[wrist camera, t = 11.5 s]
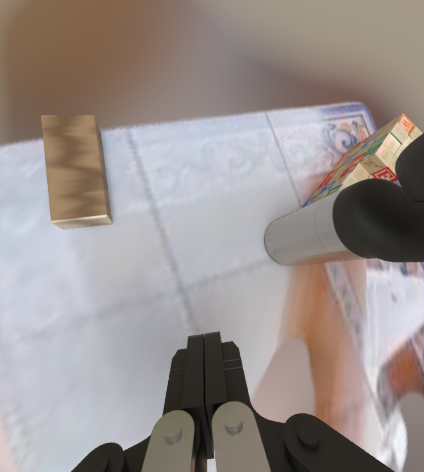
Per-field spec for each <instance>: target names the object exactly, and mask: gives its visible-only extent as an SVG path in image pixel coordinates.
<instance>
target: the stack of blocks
mask: <svg viewBox="0 0 424 472" xmlns="http://www.w3.org/2000/svg"><path fill="white" fill-rule="evenodd" d="M420 135H422V132H421V131H420V130H419V129H418V128H417V127H416V126H414V124H413V123H412V122H411V121H410V120H409V119H408V118H407V116H406V115H404V114H402V115H400V116H399V117H397V118H396V119H394V120H393V121H392V122H390V123H388V124H387V125H385V126H384V127H382V128H381V129H379V130H378V131H376V132H375V133H373V134H372V135H371V136H369V137H368V138H366V139H365V140H363V141H362V142H359V143H358V144H357V145H355V146H354V147H352V148H351V149H349V151H348V152H347V153H346V154H345V155H344V156H343V157H342V158H341V160H340V161H339V162H338V163H337V165H336V166H335V167H334V168H333V169H332V171H331V172H330V174H329V175H328V176H327V178H326V179H325V180H324V181H323V183H322V184H321V185H320V187H319V188H318V189H317V190H316V191H315V192H314V193H313V195H312V196H311V197H310V198H309V200H308V201H307V202H306V203H305V205H304V206H303V207H305V206H307V205H309V204H312V203H314V202H316V201H318V200H320V199H322V198H325V197H327V196H329V195H331V194H333V193H335V192H337V191H339V190H342V189H344V188H346V187H348V186H350V185H352V184H354V183H357V182H359V181H362V180H365V179H370V178H380V179H385V180H388V181H390V182H394V181H396V180H398V178H397V176H396V173H395V163H396V160H397V158H398V157H399V155H400V153H401V152H402V151H403V150H404V149H405V148H406V147H407V146H408V145H409V144H410V143H411V142H412V141H414V140H415V139H416V138H417V137H419V136H420ZM303 207H302V208H303Z"/></svg>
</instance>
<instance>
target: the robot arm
mask: <svg viewBox="0 0 424 472" xmlns="http://www.w3.org/2000/svg"><path fill="white" fill-rule="evenodd" d="M395 173H396V176H397V178H398V180H399V182H400V184H401V186H402V187H400V186H398V185H397V184H395V183H393V182H390V181H388V180H385V179H380V178H370V179H365V180H362V181H359V182H357V183H354V184H352V185H350V186H348V187H346V188H344V189H342V190H339V191H337V192H335V193H333V194H331V195H329V196H327V197H325V198H322V199H320V200H318V201H316V202H314V203H312V204H309V205H307V206H305V207H303V208H301V209H299V210H296V211H294V212H292V213H290V214H288V215H285V216H283V217H281V218H279V219H277V220H275V221H273V222H272V223H271V224H270V225H269V226H268V228H267V230H266V233H265V238H264V241H265V247H266V250H267V252H268V254H269V255H270V257H271V258H272V259H273V260H274V261H276V262H277V263H279V264H282V265H288V266H290V265H303V264H314V263H326V262H337V261H349V260H359V259H372V258H378V259H381V260H384V261H389V262H424V133H423V134H422V135H420V136H419V137H417V138H416V139H415V140H414V141H412V142H411V143H410V144H409V145H408V146H407V147H406V148H405V149H404V150H403V151H402V152H401V153H400V155H399V157H398V158H397V160H396V163H395ZM213 445H214V446H213ZM214 450H215V459H216V468H217V472H394V471H393V470H391V469H390V468H389V467H387V466H386V465H384V464H383V463H381V462H380V461H379V460H377V459H376V458H374V457H373V456H371V455H370V454H369V453H367V452H366V451H364V450H363V449H361V448H360V447H359V446H357V445H356V444H354V443H353V442H351V441H350V440H349V439H347V438H346V437H344V436H343V435H341V434H340V433H339V432H337V431H336V430H334V429H333V428H331V427H330V426H329V425H327V424H326V423H324V422H323V421H321V420H320V419H318V418H317V417H315V416H313V415H309V414H305V413H300V414H295V415H293V416H291V417H290V418H289V419H288V420H287V421H286V423H280V422H275V421H271V420H268V419H265V418H264V417H262V416H260V415H259V414H258V413H257V412H256V411H255V410H254V408H253V407H252V405H251V402H250V398H249V394H248V389H247V384H246V380H245V375H244V371H243V366H242V361H241V357H240V352H239V348H238V347H237V346H236V345H235V344H234V342H233V341H231V342H224V343H222V342H221V336H220V331H219V332H212V333H206V334H205V337H204V334H200V335H194V336H188V343H187V349H180V350H178V351H177V352H176V354H175V355H174V357H173V358H172V363H171V368H170V374H169V380H168V386H167V392H166V398H165V404H164V410H163V415H162V417H161V418H160V419H159V420H158V422H157V423H156V424H155V426H154V428H153V430H152V433H151V435H150V436H149V437H148V438H146V439H145V440H143V441H142V442H140V443H138V444H136V445H134V446H132V447H130V448H128V449H126V450H125V451H123V449H122V447H121V446H120V445H119V444H117V443H112V442H111V443H106V444H103V445H100V446H99V447H97V448H95V449H94V450H93V451H91V452H90V453H89V454H88V455H87V456H86V457H85V458H84V459H83V460H82V461H81V462H80V463H79V464H78V465H77V466H76V467H75V468H74V469H73V470H72V471H71V472H207V459H212V458H214Z"/></svg>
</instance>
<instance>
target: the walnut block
mask: <svg viewBox="0 0 424 472" xmlns="http://www.w3.org/2000/svg"><path fill="white" fill-rule="evenodd" d="M41 119H42V130H43V140H44V151H45V162H46V172H47V183H48V193H49V204H50V215H51V223H52V224H54V225H56V226H58V227H60V228H62V229H71V228H80V227H88V226H97V225H105V224H112V218H111V211H110V203H109V195H108V188H107V180H106V172H105V164H104V157H103V149H102V141H101V133H100V130H99V128H98V125H97V122H96V119H95V117H94V115H93V116H91V115H88V116H87V115H81V116H79V115H68V116H66V115H65V116H63V115H57V116H56V115H50V116H49V115H48V116H47V115H45V116H44V115H42V116H41Z"/></svg>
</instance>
